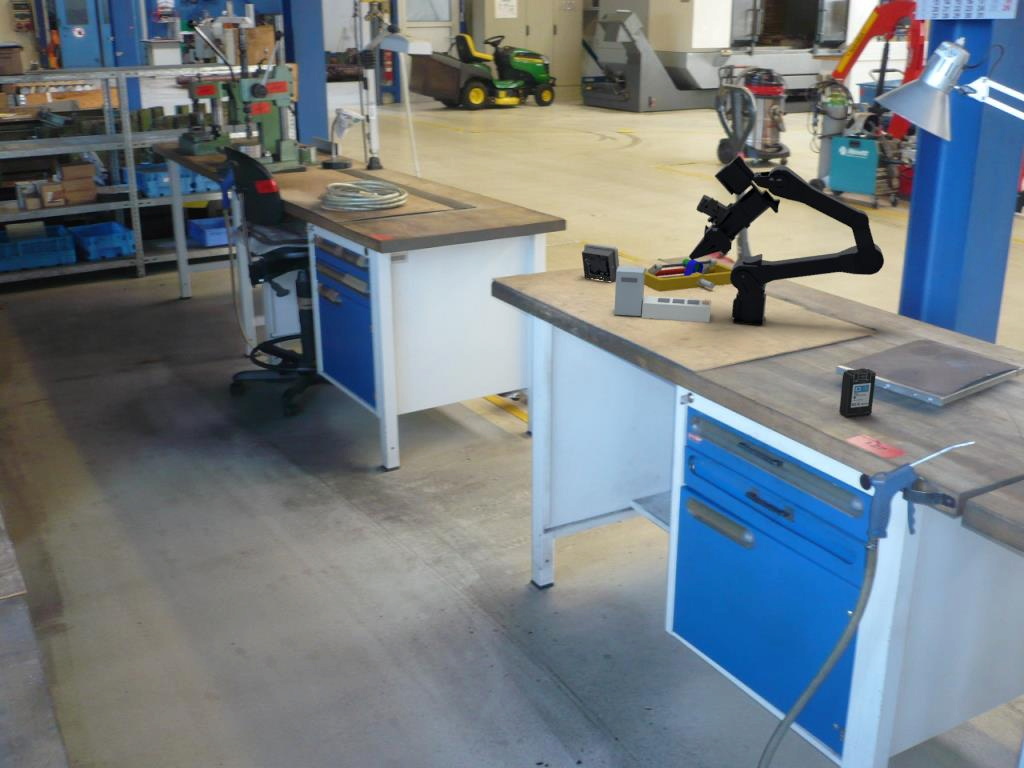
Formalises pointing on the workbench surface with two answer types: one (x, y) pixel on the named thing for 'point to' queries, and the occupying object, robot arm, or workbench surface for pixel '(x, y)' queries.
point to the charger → (629, 290)
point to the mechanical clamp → (688, 275)
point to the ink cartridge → (857, 392)
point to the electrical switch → (600, 262)
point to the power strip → (676, 309)
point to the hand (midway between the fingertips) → (690, 258)
